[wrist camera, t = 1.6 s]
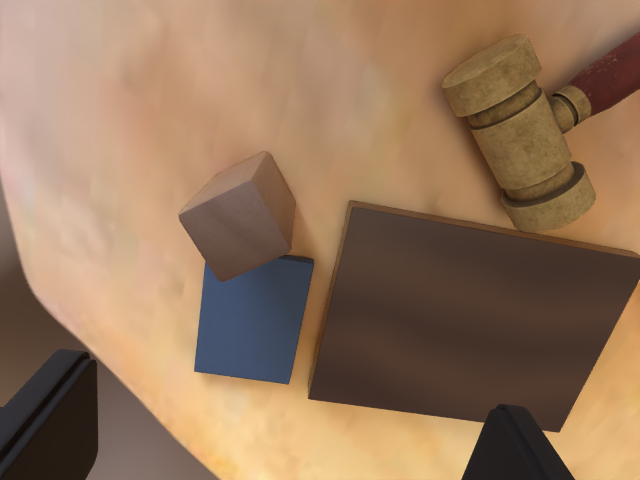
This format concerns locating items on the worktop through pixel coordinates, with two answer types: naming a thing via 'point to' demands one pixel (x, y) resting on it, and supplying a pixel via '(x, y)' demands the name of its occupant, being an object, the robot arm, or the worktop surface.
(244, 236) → the wooden block
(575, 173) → the gavel
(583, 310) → the walnut board
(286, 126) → the worktop surface
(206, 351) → the blue box
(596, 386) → the worktop surface
